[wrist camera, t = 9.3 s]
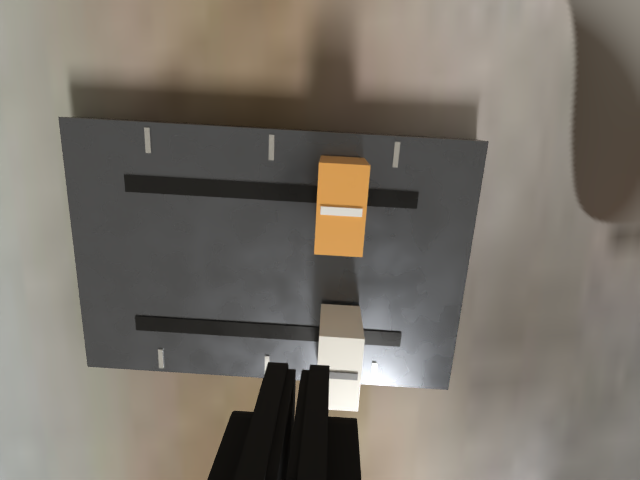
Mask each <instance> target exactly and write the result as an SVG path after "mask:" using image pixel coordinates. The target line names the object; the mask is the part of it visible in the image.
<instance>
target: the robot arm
mask: <svg viewBox="0 0 640 480" xmlns="http://www.w3.org/2000/svg"><path fill="white" fill-rule="evenodd" d="M329 371H330V366H329V365H312V364H310V368H309V370H303V369H302V371H301V378H300V385H299V392H298V399H297V406H296V413H295V382H296V369H289V365H288V363H277V362H268V364H267V367H266V371H265V374H264V378H263V381H262V385H261V388H260V392H259V395H258V399H257V402H256V406H255V409H254V412H245V411H233V412H232V414H231V416H230V419H229V422H228V425H227V427H226V430H225V433H224V436H223V438H222V441H221V444H220V447H219V449H218V452H217V455H216V458H215V460H214V463H213V466H212V469H211V471H210V474H209V477H208V480H361V468H360V454H359V440H358V426H357V419H356V418H342V417H328V407H329ZM294 414H295V420H294Z"/></svg>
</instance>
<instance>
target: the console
mask: <svg viewBox="0 0 640 480" xmlns="http://www.w3.org/2000/svg"><path fill="white" fill-rule="evenodd" d="M59 126H60V134H61V143H62V151H63V160H64V168H65V177H66V185H67V194H68V203H69V211H70V220H71V228H72V237H73V245H74V254H75V262H76V271H77V279H78V288H79V297H80V305H81V314H82V322H83V331H84V339H85V348H86V356H87V365H88V367H102V368H117V369H133V370H149V371H164V372H180V373H195V374H211V375H226V376H242V377H258V378H264V374H265V371H266V367H267V364H268V362H277V363H288V365H289V369H296V380H300V378H301V371H302V369H303V370H309V368H310V364H312V365H317V363H318V347H319V330H320V314H321V304H332V305H348V306H360V310H361V317H362V324H363V330H364V337H365V342H364V353H363V363H362V374H361V384H367V385H382V386H398V387H413V388H429V389H444V390H448V386H449V380H450V374H451V368H452V362H453V356H454V350H455V343H456V337H457V331H458V325H459V319H460V313H461V307H462V301H463V294H464V288H465V282H466V276H467V270H468V264H469V258H470V252H471V246H472V239H473V233H474V227H475V221H476V215H477V209H478V203H479V197H480V190H481V184H482V178H483V172H484V166H485V160H486V154H487V148H488V142H489V141H482V140H472V139H455V138H437V137H420V136H402V135H384V134H367V133H349V132H332V131H314V130H296V129H279V128H261V127H244V126H226V125H208V124H191V123H173V122H156V121H138V120H120V119H103V118H85V117H59ZM321 155H324V156H342V157H359V158H365V159H366V161H367V162H368V163H369V164H370V165H371V166H370V177H369V189H368V200H367V211H366V223H365V234H364V246H363V257H349V256H333V255H316V254H314V246H315V227H316V208H317V189H318V170H319V161H320V157H321Z"/></svg>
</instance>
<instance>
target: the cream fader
mask: <svg viewBox="0 0 640 480" xmlns="http://www.w3.org/2000/svg"><path fill="white" fill-rule="evenodd" d="M364 342H365V337H364V330H363V324H362V317H361V310H360V306H348V305H332V304H321V314H320V330H319V347H318V363H317V365H329V366H330V371H329V407H328V410H343V411H358V406H359V395H360V385H361V374H362V363H363V353H364Z"/></svg>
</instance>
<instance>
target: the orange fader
mask: <svg viewBox="0 0 640 480" xmlns="http://www.w3.org/2000/svg"><path fill="white" fill-rule="evenodd" d="M370 166H371V165H370V164H369V163H368V162H367V161H366V159H365V158H359V157H342V156H324V155H321V157H320V161H319V170H318V189H317V208H316V227H315V246H314V254H316V255H333V256H349V257H363V246H364V234H365V223H366V211H367V200H368V189H369V177H370Z"/></svg>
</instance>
